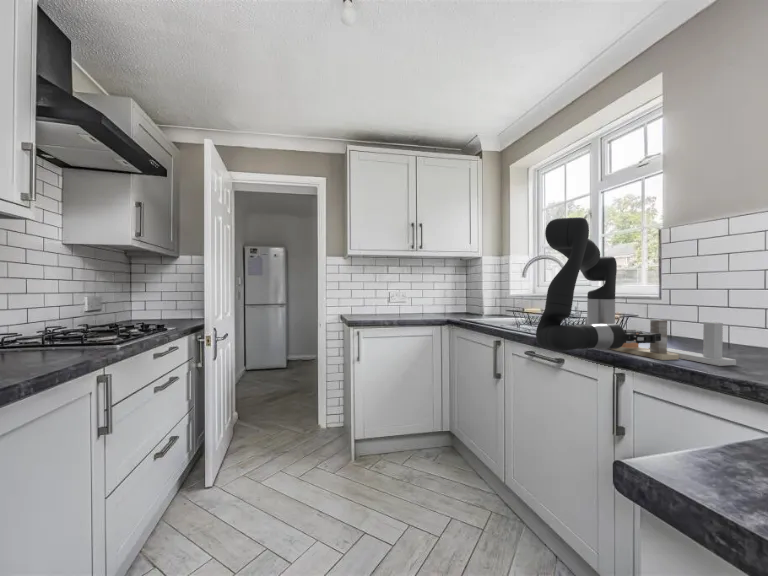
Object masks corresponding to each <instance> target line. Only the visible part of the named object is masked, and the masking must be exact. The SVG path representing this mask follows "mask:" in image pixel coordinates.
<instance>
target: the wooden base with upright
mask: <svg viewBox="0 0 768 576" xmlns="http://www.w3.org/2000/svg"><path fill="white" fill-rule="evenodd" d="M649 322H650V324H649V325H650V326H649V327H650V331H649V333H660V334H661V341H656V342H655V343H649V348H650V349H649V348H646V347H641V346H638V347H632V348H625V347H620V348H617V349H610V350H612V351H617V352H621V353H627V354H630V355H631V354H632V355H636V356H642V357H645V358H649V359H650V358H651V359H655V360H660V361H668V360H669V361H670V360H671V361H672V360H674V361H675V360H679V359H680V358H679V354H674V353H669V352H667V348H668V320H665V319H657V318H656V319H650V321H649Z"/></svg>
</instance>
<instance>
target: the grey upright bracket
mask: <svg viewBox="0 0 768 576" xmlns="http://www.w3.org/2000/svg"><path fill="white" fill-rule="evenodd" d="M723 324H724V323H723V322H714V321H706V322H705V321H704V322H703V331H702V332H703V340H702V343H703V344H702V351H703V353H701V352H700V353H699V352H694V351H688V350H681V349H677V348H671V347H667V352H669V353H674V354H679V359H682V360H686V361H687V360H688V361H691V362H698V363H703V364H708V365H712V366H718V367H722V366H736V365H737V359H735V358H728V357H723V340H724V339H723V338H724V337H723V334H724V332H723V331H724V328H723V326H724V325H723ZM648 349H650V347H648Z"/></svg>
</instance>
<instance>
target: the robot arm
mask: <svg viewBox="0 0 768 576" xmlns="http://www.w3.org/2000/svg"><path fill="white" fill-rule="evenodd" d="M589 226H590V225H589V222H588V220H587V219H586V218H585V217H579V216H578V217H562V218H561V217H559V218H555V219H551V220H550V221H549V222H548V224H546V227H545V229H544V230H545V233H544V234H545V240H546V242H547V244H548V245H549V247H550V248H551V249H552V250H554V251H556V252H558V253H560V254H561V255H563V256H564V257H565V258H567V261H566V262H565V264H564V265H563V267H562V268H561V269H560V270H559V272H558V273H557V274H556V275H555V276H554V277H553V279H552V280H551V282H550V283H549V285H548V288H547V292H546V299H545V305H544V306H545V307H544V310H543V312H542V314H541V317H540V320H539V322H538V324H537V327H536V331H535V338H536V339H535V340H536V343H537V345H539V347H540V348H543V349H545V350H554V351H571V350H578V349H579V350H585V349H586V350H587V349H589V350H590V349H592V350H611V349H617V348H620V347H621V346H622V345H623V344H624V343H639V344H650V343H655V342H656V341H661V334H660V333H650V332H643V331H640V330H636V329H624V328H622V326H621V325H620V324H618V323H616V286H617V285H616V284H617V282H616V281H617V271H618V269H617V268H618V265H617V260H616V258H615V257H614V256H609V255H608V256H601V252H600V251H601V250H600V248H599V247H598V246H597V244H596V243H595V242H594V241H593V240H592V239H590V238H589V236H590V235H589V234H590V227H589ZM580 272H581V273H582V275H583V277H584V278H585V279H586V280H587V281H590V282H604V284H603V285H601V286H599V287H597V288H596V289H592V290H589V291H588V292H587V296H586V297H587V300H586V301H587V303H586V304H587V306H586V307H587V313H586V318H585V319H584V321H585V324H574V325H568V324H567V325H565V324H564V325H563V324H562V325H561V323H562V321H563V320H565V319H567V318H569V317H570V316H571V313H572V311H573V310H572V308H573V302H574V295H575V294H574V293H575V288H576V285H577V280H578V276H579V273H580ZM636 333H638V334H636ZM634 340H636V341H634Z"/></svg>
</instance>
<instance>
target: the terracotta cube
mask: <svg viewBox="0 0 768 576" xmlns="http://www.w3.org/2000/svg"><path fill="white" fill-rule="evenodd" d="M636 334H638V333H636ZM634 341H636V340H634ZM639 345H640V343H624V344H623V345H622V346H621V347H625V348H632V347H640V346H639Z"/></svg>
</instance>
